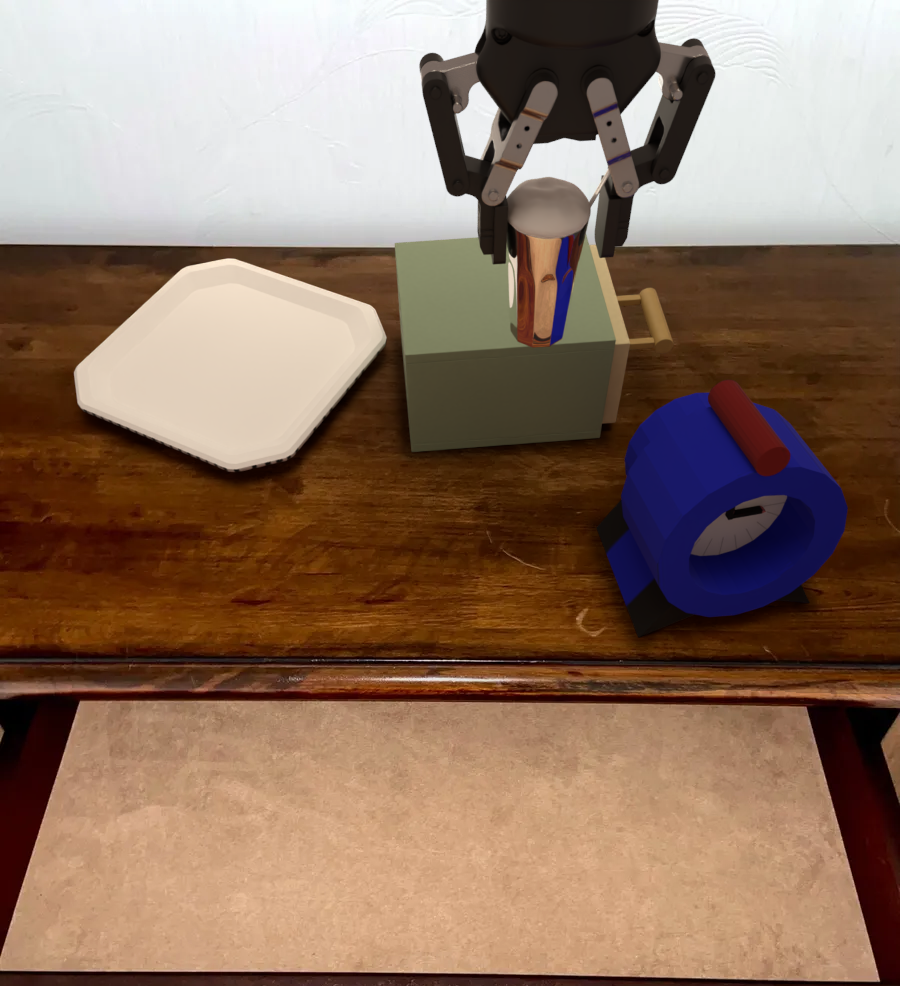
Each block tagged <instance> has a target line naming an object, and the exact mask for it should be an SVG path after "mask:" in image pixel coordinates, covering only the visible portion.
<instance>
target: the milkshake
mask: <svg viewBox="0 0 900 986" xmlns="http://www.w3.org/2000/svg"><path fill="white" fill-rule="evenodd" d="M603 175H604V177H603V179H602V180H601V179H600V182H599V184H598V185H597V187H596V189H595V191H594V193H593V194H592V196H591V197H590V199H588V197H587V196H586V194H585V193H584V192H583V191H582V189H580V187H579V186H577V185H576V184H575V183H573V182H570V181H567V180H564V179H562V178H561V179H560V178H557V177H552V176H545V177H539V178H531V179H530V178H529V179H526V180H524V181H521V183H519V184H518V185H517V186H516V187H515V188H514V189H513V190H512V191H511V192H510V194H509V195H508V196H506V197H507V202H508V223H507V258H508V284H509V310H510V331H511V332H512V334H513V335H514V337H515V338H516V340H517V341H518V342H520V343H522V344H525V345H527V346H530V347H532V348H536V347H550V346H551V345H553V344H555V343H556V342H558V341H560V340H561V339H562V338H563V334H564V330H565V327H566V322H567V317H568V312H569V307H570V302H571V297H572V291H573V286H574V281H575V276H576V271H577V266H578V262H579V259H580V256H581V252H582V248H583V243H584V239H585V235H587V231H588V227H589V223H590V222H589V221H590V217H591V212H592V211H591V210H592V209H591V208H592V206H593V205H594V203H595V201H596V200H597V198H598V197H599V193H600V191H601V189H602V187H603V186H604V184H605V182H606V180H607V179H608V177H609V175H610V171H609V168H608V167H607V170H606V172H605V174H603Z"/></svg>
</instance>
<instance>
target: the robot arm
mask: <svg viewBox="0 0 900 986" xmlns="http://www.w3.org/2000/svg"><path fill="white" fill-rule="evenodd" d="M659 2H660V1H659V0H486V2H485V23H484V28H483V31H482V32H481V35H480V38H479V39H478V41H477V42H476V45H475V49H474V52H471V53H467V54H463V55H459V56H457V57H453V58H449V59H445V60H444V58H443V57H442V56H441V54H439V53H436V52H427V53H426V54H424V55H423V56H422V57H421V59H420V60H419V65H418V66H419V67H418V68H419V76H420V84H421V93H422V98H423V101H424V106H425V110H426V113H427V114H426V115H427V118H428V122H429V126H430V129H431V130H430V131H431V133H432V138H433V141H434V145H435V149H436V154H437V158H438V161H439V165H440V169H441V174H442V178H443V182H444V185H445V189H446V192H447V193H448V194H449V195H450V196H453V197H463V196H465V195H469V196H471V197H474V198H475V199H476V200H477V229H476V230H477V231H476V232H477V237H478V238H479V244H480V248H481V250H482V253H483V255H491V258H492V263H493V265H494V264H506V249H507V223H508V202H507V197H508V196H507V194H508V191H509V189H510V187H511V185H512V183H513V181H514V178H515V176H516V174H517V172H518V170H522V169H523V167H524V165H525V163H526V161H527V159H528V156H529V154H530V152H531V150H532V148H533V145H539V144H541V145H543V144H550V143H553V142H556V141H560V140H562V139H563V140H564V139H566V140H567V139H568V140H572V141H577V142H591V141H596V140H597V136H598V138H599V142H600V145H601V148H602V152H603V154H604V158H605V161H606V164H607V169H608V168H609V171H610V175H609V177H608V179H607V180H606V182H605V184H604V186H603V187H602V189H601V191H600V193H599V194H598V199H597V200H598V202H597V210H596V218H595V226H594V244H595V245H596V247H597V250H598V254H599V257H600V258H605V259H607V258H608V259H609V258H614V256H615V251H616V248H618V247H620V248H621V247H623V246H624V244H625V243H626V241H627V239H628V235H629V228H630V222H631V215H632V209H633V204H634V197H635V195H636V193H637V192H638V191H639V190H640V189H641V188H643V187H644V186H645V185H648V184H650V183H651V184H652V183H656V184H657V185H666V184H668V183H670V182H671V181H672V180H673V179H674V178H675V176H676V175H677V172H678V170H679V167H680V164H681V163H682V160H683V157H684V155H685V152H686V150H687V147H688V146H689V142H690V140H691V138H692V135H693V132H694V130H695V128H696V126H697V123H698V121H699V118H700V115H701V113H702V111H703V109H704V106H705V104H706V102H707V98H708V96H709V94H710V92H711V88H712V86H713V84H714V81H715V79H716V69H715V67H714V65H713V62H712V59H711V58H710V55H709V53H708V51H707V49H706V48H705V46H704V44H703V41H701V40H700V39H698V38H695V37H693V38H689V39H687V40H685V41H684V42H683V43H682V44H681V45H678V44H672V43H666V42H661V41H659V40H658V37H657V33H656V19H657V13H658V7H659ZM656 73H657V74H658V78H657V82H658V83H657V84H658V87H659V88H660V91H661V97H660V99H659V102H658V105H657V108H656V111H655V113H654V116H653V118H652V122H651V124H650V127H649V129H648V132H647V135H646V138H645V141H644V143H643V145H641V146H639V147H637V148H634V149H631V147H630V144H629V140H628V136H627V133H626V130H625V126H624V125H625V124H624V122H623V119H622V114H623V113H624V111H625V110H626V109H627V108H628V106H629V105H630V104H631V103H632V102H633V101H634V99H635V98H636V97H637V95H638V94H639V93H640V92H641V91H642V89H644V87H645V86H646V85H647V84H648V82H649V81H650V80H651V79H652V78H653V76H654V75H655V74H656ZM477 83H480V84H481V86H482V87H483V89H484V91H486V92H487V94H488V95H489V96H490V99H492V101H493V103H494V104H495V105H496V106H497V110H496V113H495V115H494V118H493V120H492V123H491V127H490V133H489V137H488V140H487V142H486V145H485V147H484V148H483V151H482V154H481V157H480V158H477V157H474V156H471V155H467V154H466V152H465V147H464V143H463V139H462V138H463V137H462V135H461V134H462V133H461V130H460V126H459V121H458V117H457V114H460V113H462V112H464V111H465V110H466V109H467V107H468V106H469V101H470V99H469V97H470V91H471V89H472V87H474V86H475V85H476V84H477ZM604 175H605V174H603V175H601V177H600V181H601V180H602V179H603V177H604Z"/></svg>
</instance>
